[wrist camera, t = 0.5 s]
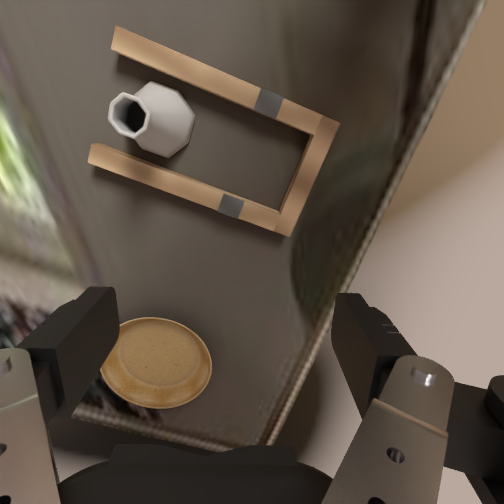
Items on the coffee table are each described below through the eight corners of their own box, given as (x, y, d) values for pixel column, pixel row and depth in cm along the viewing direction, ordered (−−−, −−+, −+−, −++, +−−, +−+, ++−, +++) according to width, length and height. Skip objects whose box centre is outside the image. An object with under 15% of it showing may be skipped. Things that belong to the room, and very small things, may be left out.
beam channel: (123, 31, 31) (114, 23, 29) (335, 123, 34) (341, 122, 32) (95, 161, 35) (86, 163, 33) (287, 232, 39) (289, 238, 36)
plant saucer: (227, 325, 43) (226, 337, 41) (196, 405, 48) (193, 420, 45) (119, 292, 41) (111, 302, 39) (97, 379, 46) (88, 393, 43)
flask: (171, 170, 36) (145, 182, 26) (113, 128, 34) (64, 125, 25) (208, 114, 34) (193, 106, 25) (148, 66, 32) (109, 39, 23)
